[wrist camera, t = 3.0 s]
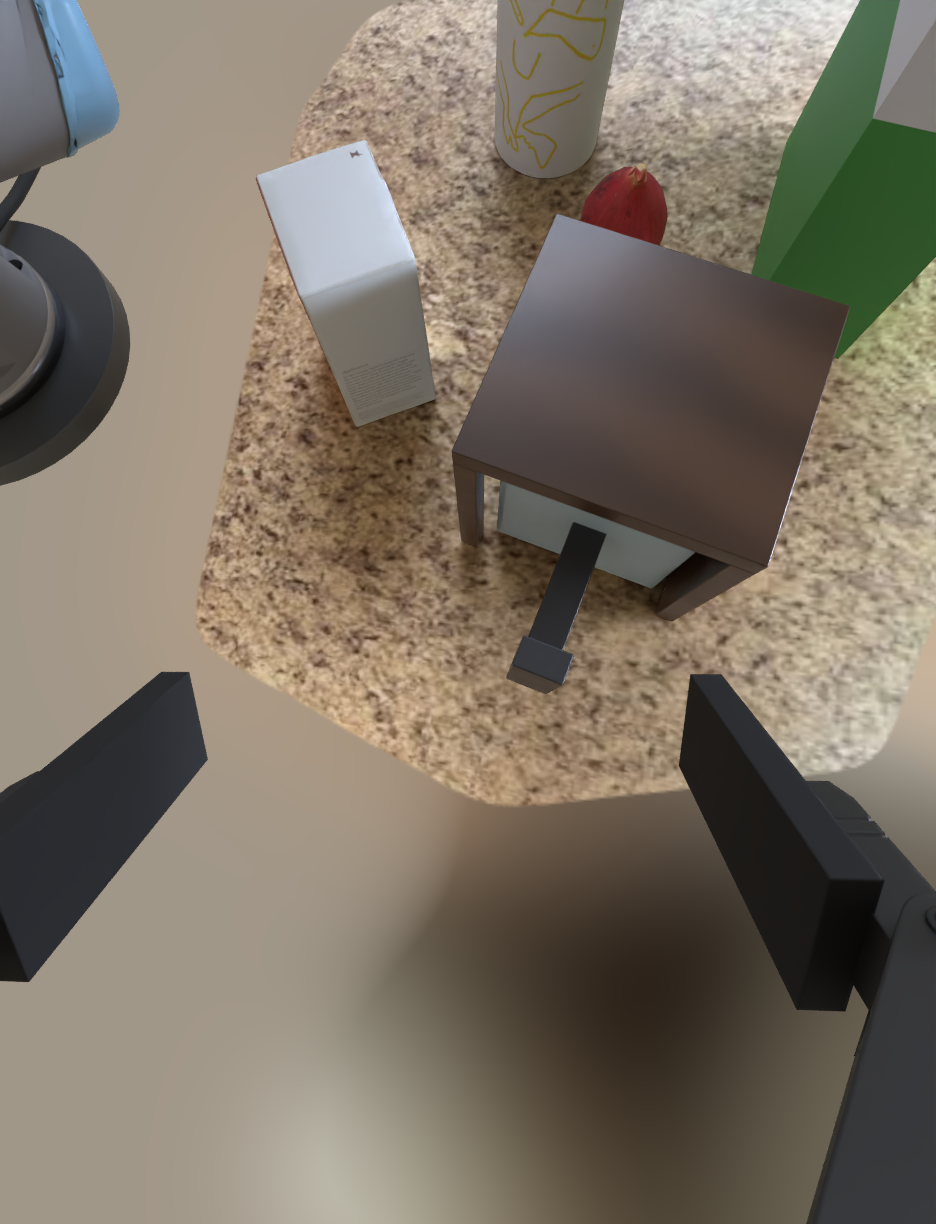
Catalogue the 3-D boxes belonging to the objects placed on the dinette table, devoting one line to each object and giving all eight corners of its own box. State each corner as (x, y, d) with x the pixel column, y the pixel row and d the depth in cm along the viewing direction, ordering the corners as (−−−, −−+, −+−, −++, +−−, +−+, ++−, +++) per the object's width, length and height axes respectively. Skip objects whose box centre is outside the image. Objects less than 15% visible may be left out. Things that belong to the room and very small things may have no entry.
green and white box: (786, 142, 45) (1115, -492, 22) (881, 164, 45) (1326, -465, 21) (736, 331, 42) (1058, -173, 19) (838, 358, 41) (1305, -129, 18)
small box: (320, 337, 43) (251, 171, 30) (401, 310, 43) (367, 133, 30) (354, 431, 41) (297, 297, 28) (438, 401, 41) (418, 256, 29)
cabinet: (672, 621, 38) (768, 567, 25) (461, 541, 39) (451, 451, 27) (734, 439, 40) (851, 305, 28) (533, 370, 42) (556, 213, 29)
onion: (556, 273, 43) (573, 172, 36) (600, 220, 44) (625, 111, 36) (621, 313, 43) (652, 219, 35) (664, 259, 43) (704, 155, 36)
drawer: (604, 722, 36) (647, 719, 27) (444, 657, 37) (431, 633, 28) (702, 446, 40) (769, 358, 31) (553, 394, 41) (574, 294, 32)
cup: (478, 159, 46) (478, -39, 34) (517, 83, 47) (529, -132, 35) (575, 191, 45) (608, -1, 33) (611, 112, 46) (655, -98, 34)
